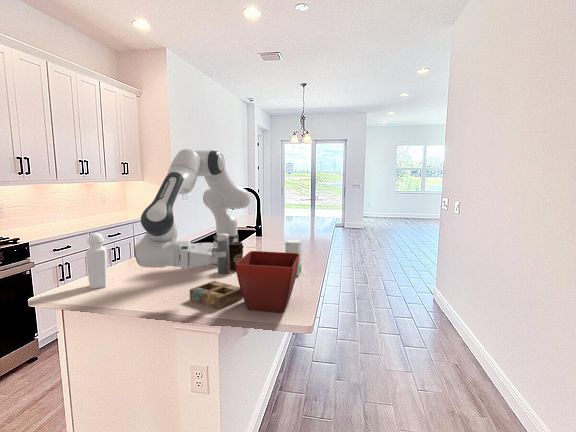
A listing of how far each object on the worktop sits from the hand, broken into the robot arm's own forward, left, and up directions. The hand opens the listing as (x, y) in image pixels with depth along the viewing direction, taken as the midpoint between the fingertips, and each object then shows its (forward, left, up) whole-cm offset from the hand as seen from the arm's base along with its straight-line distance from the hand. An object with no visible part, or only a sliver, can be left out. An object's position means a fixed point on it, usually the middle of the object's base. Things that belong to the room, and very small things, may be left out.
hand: (225, 252), depth 115 cm
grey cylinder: (-1, -1, -8) cm, 8 cm away
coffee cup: (-25, +32, -18) cm, 45 cm away
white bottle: (-54, -18, -18) cm, 60 cm away
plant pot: (+15, +6, -18) cm, 24 cm away
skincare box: (+2, +42, -18) cm, 46 cm away
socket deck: (-4, -1, -18) cm, 19 cm away
